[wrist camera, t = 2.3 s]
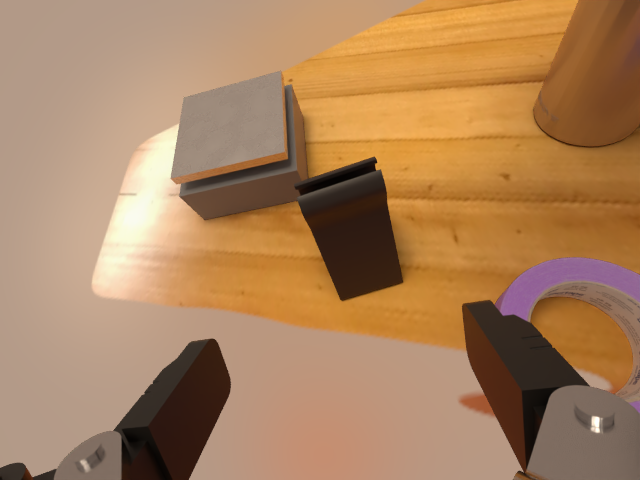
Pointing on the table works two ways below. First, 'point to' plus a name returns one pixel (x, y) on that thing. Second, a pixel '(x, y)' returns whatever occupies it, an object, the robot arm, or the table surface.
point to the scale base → (254, 176)
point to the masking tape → (590, 286)
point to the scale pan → (231, 129)
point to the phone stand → (352, 227)
